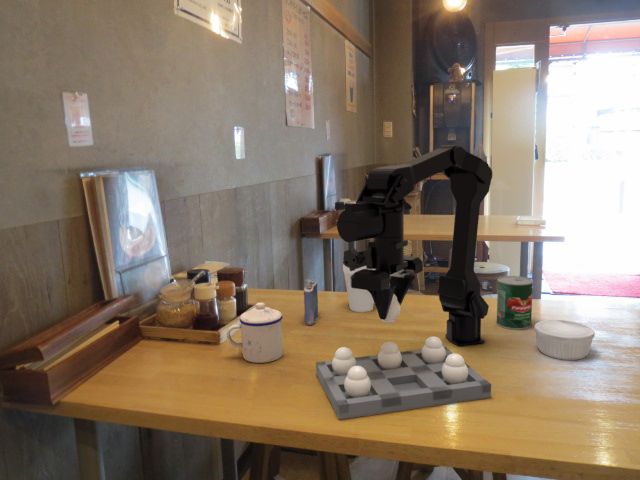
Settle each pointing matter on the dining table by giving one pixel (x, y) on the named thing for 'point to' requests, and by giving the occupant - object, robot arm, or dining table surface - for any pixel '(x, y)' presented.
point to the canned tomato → (514, 302)
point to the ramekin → (564, 339)
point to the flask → (310, 302)
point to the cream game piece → (392, 311)
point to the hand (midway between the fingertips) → (388, 315)
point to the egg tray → (398, 380)
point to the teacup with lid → (260, 334)
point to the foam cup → (357, 293)
